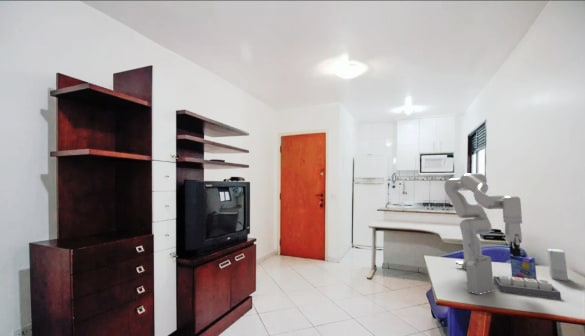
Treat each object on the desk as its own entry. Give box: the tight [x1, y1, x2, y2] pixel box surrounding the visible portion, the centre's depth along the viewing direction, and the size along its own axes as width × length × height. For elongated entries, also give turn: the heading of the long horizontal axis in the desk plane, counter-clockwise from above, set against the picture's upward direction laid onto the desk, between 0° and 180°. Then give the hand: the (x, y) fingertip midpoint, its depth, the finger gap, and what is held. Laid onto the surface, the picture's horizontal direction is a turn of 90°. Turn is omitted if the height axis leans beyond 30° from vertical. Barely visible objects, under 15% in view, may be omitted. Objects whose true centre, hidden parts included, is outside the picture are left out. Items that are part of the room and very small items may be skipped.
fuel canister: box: [465, 244, 494, 295], centre depth 134 cm, size 15×5×25 cm, turn 113°
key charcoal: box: [535, 278, 553, 290], centre depth 131 cm, size 4×5×3 cm
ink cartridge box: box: [509, 252, 538, 281], centre depth 150 cm, size 10×6×14 cm, turn 29°
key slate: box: [498, 275, 511, 285], centre depth 138 cm, size 4×5×3 cm
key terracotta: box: [510, 276, 525, 287], centre depth 136 cm, size 4×5×3 cm
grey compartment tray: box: [492, 275, 562, 300], centre depth 134 cm, size 23×14×3 cm, turn 63°
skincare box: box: [546, 248, 569, 282], centre depth 149 cm, size 8×7×16 cm
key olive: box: [523, 278, 538, 288], centre depth 133 cm, size 4×5×3 cm
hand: (515, 254), depth 136 cm, fingers open, 3 cm apart
